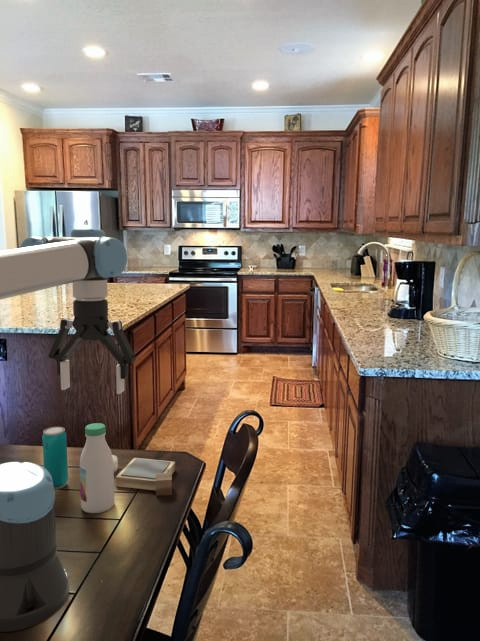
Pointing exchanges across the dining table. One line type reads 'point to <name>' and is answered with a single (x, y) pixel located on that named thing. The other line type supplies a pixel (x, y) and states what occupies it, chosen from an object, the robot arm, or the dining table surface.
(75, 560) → the dining table surface
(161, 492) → the tan wooden block
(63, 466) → the beverage can
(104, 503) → the milk bottle
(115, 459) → the white rounded block
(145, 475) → the wooden picture frame
